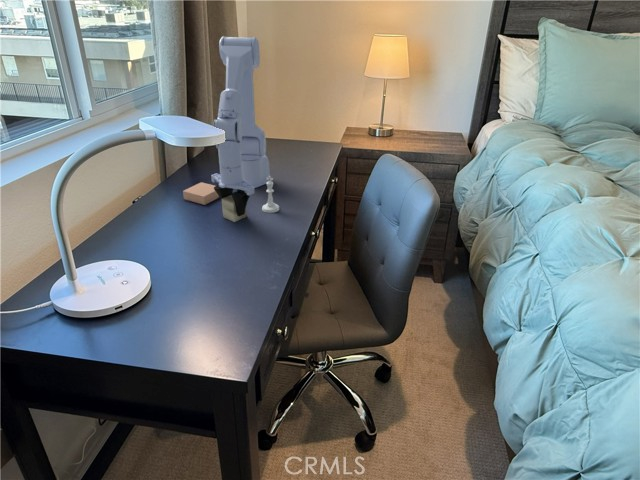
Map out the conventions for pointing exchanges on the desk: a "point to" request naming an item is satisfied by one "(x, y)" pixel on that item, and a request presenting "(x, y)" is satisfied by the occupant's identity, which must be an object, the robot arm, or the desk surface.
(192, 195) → the block
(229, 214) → the metal block
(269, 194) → the chess piece
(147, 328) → the desk surface
